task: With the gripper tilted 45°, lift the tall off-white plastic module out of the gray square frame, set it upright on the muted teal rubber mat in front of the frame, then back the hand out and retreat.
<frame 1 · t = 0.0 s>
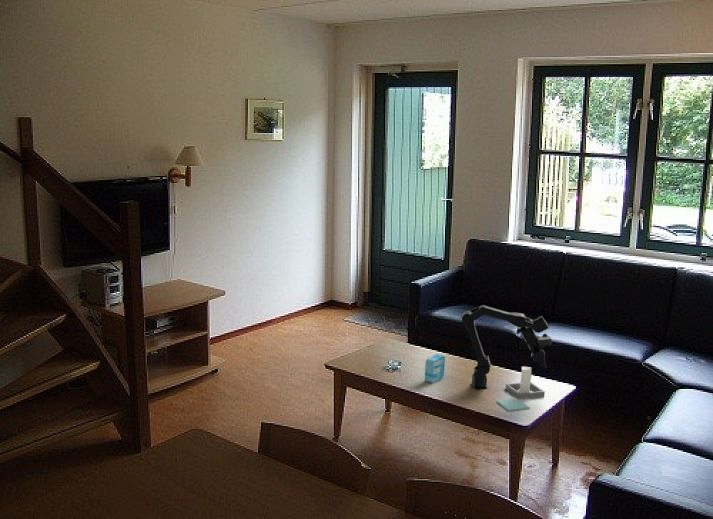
hand: (545, 364, 340), 15 cm above the table, tool tilted 35°, fingers open, 9 cm apart
gray square frame: (524, 392, 343), on the table
light blue upright slab: (434, 379, 356), on the table
module: (525, 380, 342), in the gray square frame
teal mat: (512, 405, 327), on the table
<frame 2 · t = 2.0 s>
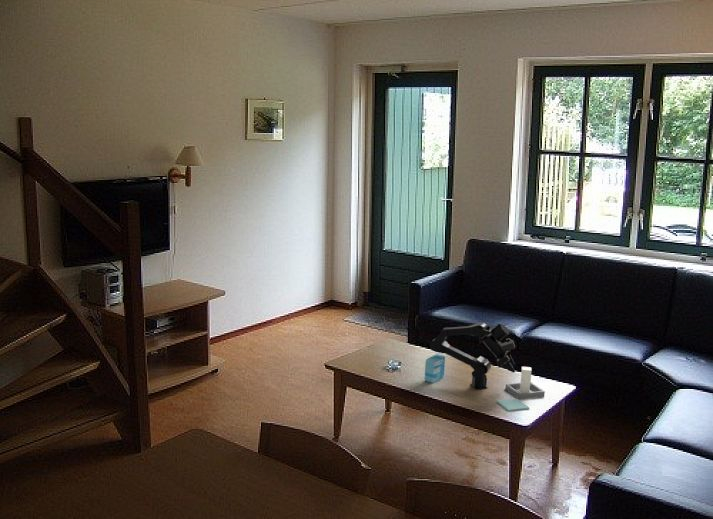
hand: (514, 368, 342), 12 cm above the table, tool tilted 45°, fingers open, 9 cm apart
nothing on the table moved.
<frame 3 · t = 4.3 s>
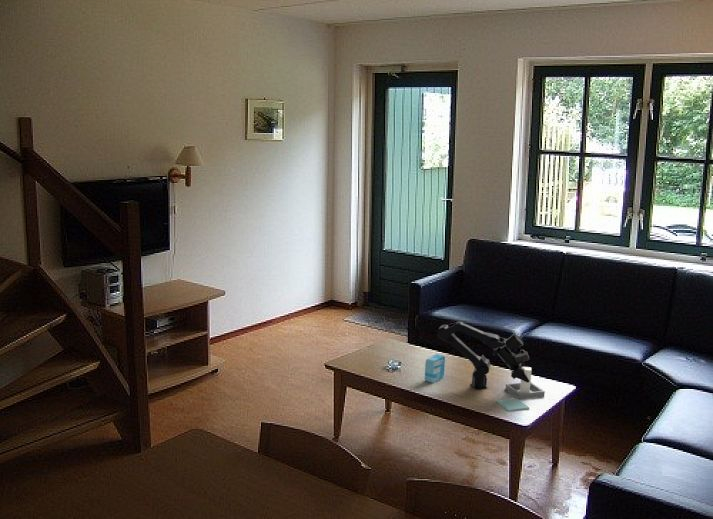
hand: (528, 380, 341), 7 cm above the table, tool tilted 45°, fingers closed on module, 4 cm apart
module: (525, 380, 342), in the gray square frame, touching gripper
everything else where it was.
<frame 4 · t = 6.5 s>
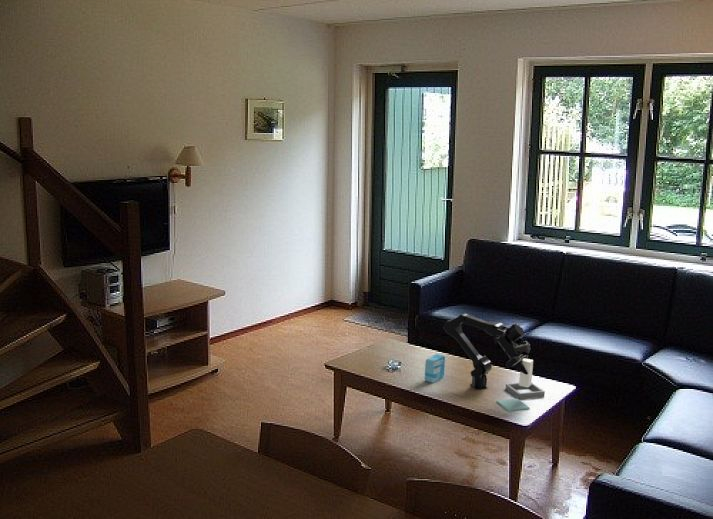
hand: (528, 372, 332), 14 cm above the table, tool tilted 45°, fingers closed on module, 4 cm apart
module: (526, 372, 333), point 13 cm above the table, touching gripper
everything else where it was.
when the fingers open (8 cm above the table, at t = 8.9 s): module stays where it is, resting on teal mat.
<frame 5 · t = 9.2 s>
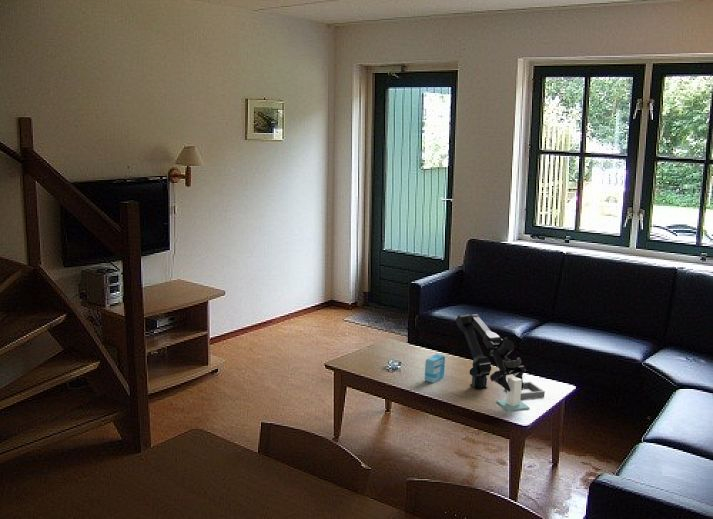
hand: (516, 389, 324), 8 cm above the table, tool tilted 45°, fingers open, 8 cm apart
module: (514, 391, 325), on the teal mat, point 7 cm above the table
everything else where it was.
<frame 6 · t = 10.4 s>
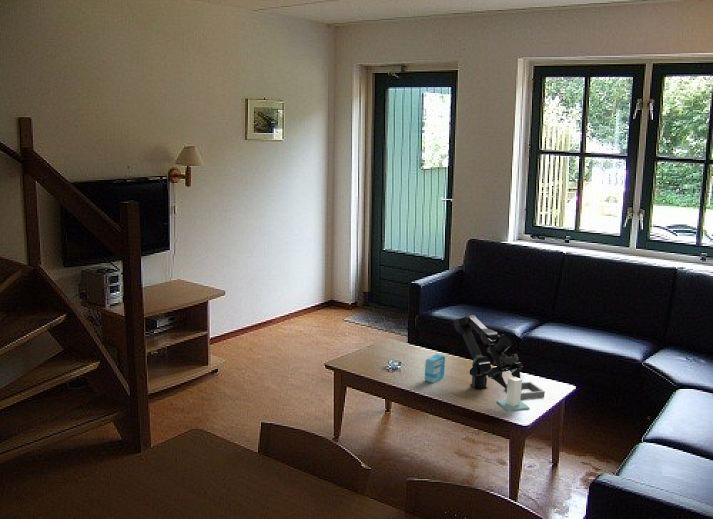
hand: (513, 386, 326), 9 cm above the table, tool tilted 45°, fingers open, 9 cm apart
nothing on the table moved.
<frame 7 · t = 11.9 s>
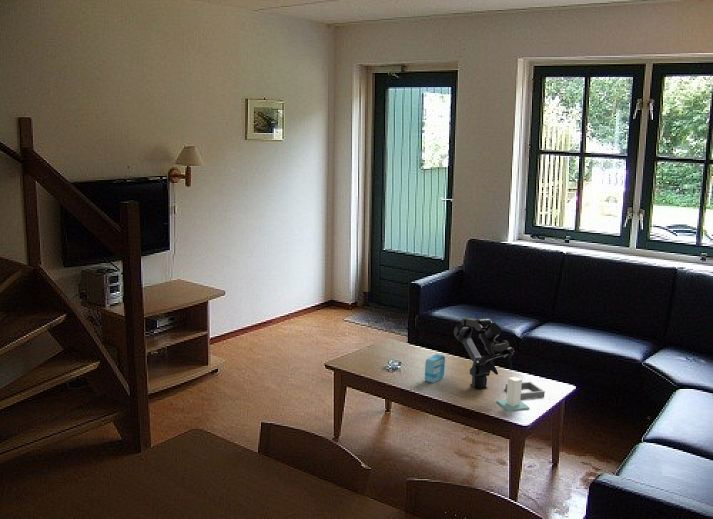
hand: (504, 372, 332), 14 cm above the table, tool tilted 40°, fingers open, 9 cm apart
nothing on the table moved.
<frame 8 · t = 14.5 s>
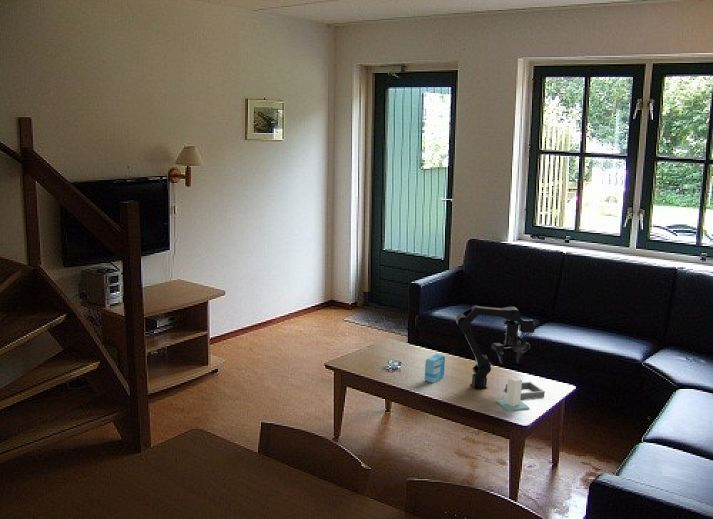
hand: (509, 362, 346), 13 cm above the table, tool pointing down, fingers open, 9 cm apart
nothing on the table moved.
at the end: module inside the target area on the teal mat (0.0 cm from its centre), point 7.0 cm above the teal mat's base; module tilted 0°; the gripper is holding nothing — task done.
